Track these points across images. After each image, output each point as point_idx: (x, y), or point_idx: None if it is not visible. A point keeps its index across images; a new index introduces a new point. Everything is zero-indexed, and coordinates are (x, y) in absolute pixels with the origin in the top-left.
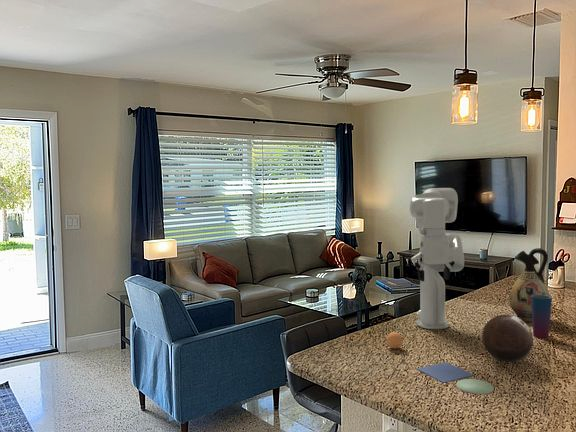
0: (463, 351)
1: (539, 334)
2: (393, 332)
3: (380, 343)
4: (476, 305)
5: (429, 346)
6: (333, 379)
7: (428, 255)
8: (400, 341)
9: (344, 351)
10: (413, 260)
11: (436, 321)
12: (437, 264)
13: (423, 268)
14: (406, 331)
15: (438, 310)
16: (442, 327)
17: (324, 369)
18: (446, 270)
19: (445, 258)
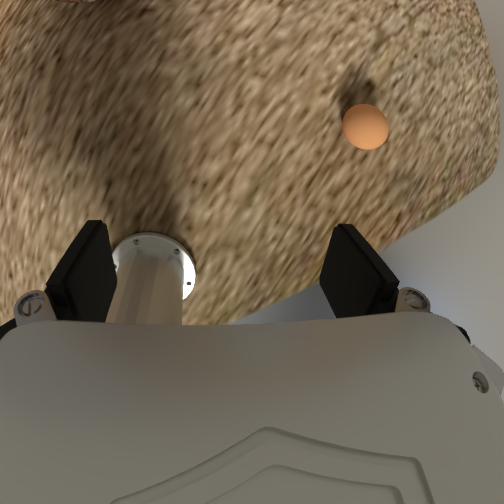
0: (181, 35)
1: None
2: (380, 133)
3: (364, 169)
4: None
5: (256, 98)
6: (490, 59)
7: (488, 438)
8: (362, 104)
9: (443, 155)
10: (491, 365)
11: (149, 253)
12: (246, 325)
13: (398, 302)
14: (248, 239)
15: (137, 274)
16: (138, 235)
17: (489, 98)
18: (80, 295)
19: (39, 423)
